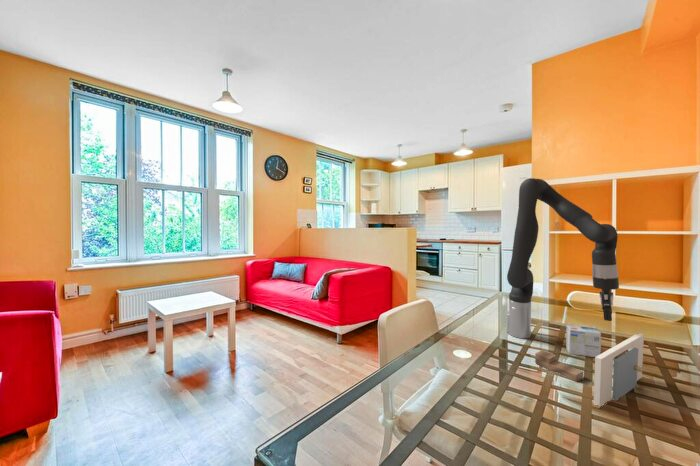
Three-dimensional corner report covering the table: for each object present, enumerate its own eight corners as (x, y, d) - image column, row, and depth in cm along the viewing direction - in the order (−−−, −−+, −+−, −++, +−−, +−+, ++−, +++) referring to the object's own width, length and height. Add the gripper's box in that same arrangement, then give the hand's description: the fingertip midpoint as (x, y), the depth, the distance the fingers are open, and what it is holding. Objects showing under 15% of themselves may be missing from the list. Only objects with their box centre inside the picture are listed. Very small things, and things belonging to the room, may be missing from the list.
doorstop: (535, 364, 115) (535, 353, 115) (542, 360, 118) (542, 350, 117) (575, 382, 103) (576, 370, 103) (582, 377, 105) (583, 366, 105)
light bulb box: (595, 351, 124) (596, 326, 123) (601, 358, 118) (602, 333, 117) (564, 346, 128) (565, 323, 127) (569, 354, 122) (569, 329, 121)
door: (612, 399, 93) (614, 359, 92) (632, 384, 100) (634, 347, 99) (622, 403, 91) (624, 363, 90) (642, 388, 98) (644, 350, 97)
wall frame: (593, 405, 91) (595, 357, 89) (636, 375, 106) (638, 332, 104) (599, 408, 89) (601, 359, 88) (641, 377, 104) (643, 334, 103)
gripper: (593, 272, 120) (596, 311, 120) (591, 278, 109) (594, 321, 109) (618, 272, 115) (621, 313, 115) (618, 279, 104) (621, 324, 104)
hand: (608, 317), depth 112 cm, fingers open, 8 cm apart
